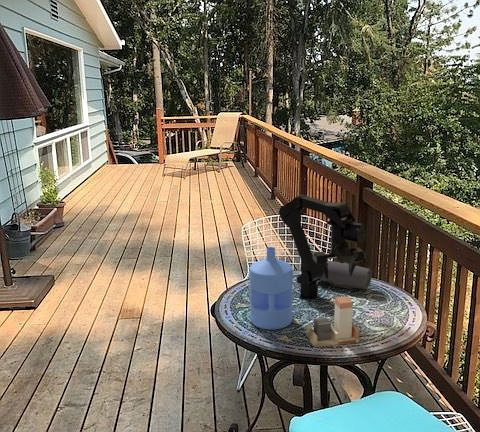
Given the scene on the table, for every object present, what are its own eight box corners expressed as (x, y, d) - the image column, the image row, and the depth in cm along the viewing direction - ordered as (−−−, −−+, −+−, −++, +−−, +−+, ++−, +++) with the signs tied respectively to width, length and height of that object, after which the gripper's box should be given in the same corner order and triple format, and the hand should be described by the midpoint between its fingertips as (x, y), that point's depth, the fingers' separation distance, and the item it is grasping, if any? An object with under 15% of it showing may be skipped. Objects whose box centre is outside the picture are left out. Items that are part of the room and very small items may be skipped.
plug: (333, 332, 169) (335, 297, 166) (346, 330, 170) (347, 296, 167) (338, 338, 165) (340, 303, 162) (351, 337, 166) (353, 302, 162)
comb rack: (306, 335, 170) (306, 317, 168) (349, 330, 172) (349, 312, 170) (314, 347, 162) (314, 328, 160) (359, 342, 165) (359, 323, 163)
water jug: (250, 310, 189) (248, 241, 181) (291, 310, 188) (291, 240, 180) (249, 331, 174) (248, 256, 166) (294, 330, 173) (294, 256, 165)
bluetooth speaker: (371, 287, 206) (372, 264, 203) (364, 295, 199) (365, 272, 196) (320, 276, 218) (321, 255, 215) (312, 284, 210) (312, 262, 208)
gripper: (321, 246, 172) (322, 288, 176) (372, 241, 175) (371, 282, 179) (312, 237, 182) (312, 276, 186) (359, 232, 185) (358, 271, 189)
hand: (338, 277), depth 185 cm, fingers open, 9 cm apart
